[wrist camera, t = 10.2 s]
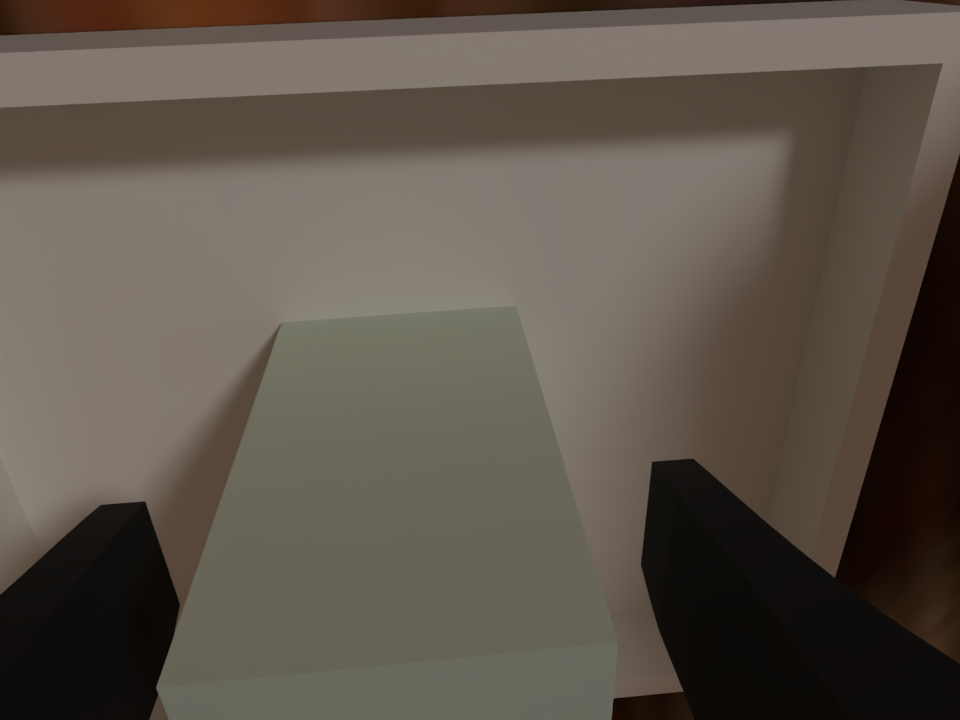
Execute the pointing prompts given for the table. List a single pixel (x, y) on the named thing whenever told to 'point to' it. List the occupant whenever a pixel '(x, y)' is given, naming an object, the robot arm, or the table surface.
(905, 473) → the table surface
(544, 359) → the serving tray
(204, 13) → the table surface
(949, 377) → the table surface
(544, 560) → the sage block
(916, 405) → the table surface
